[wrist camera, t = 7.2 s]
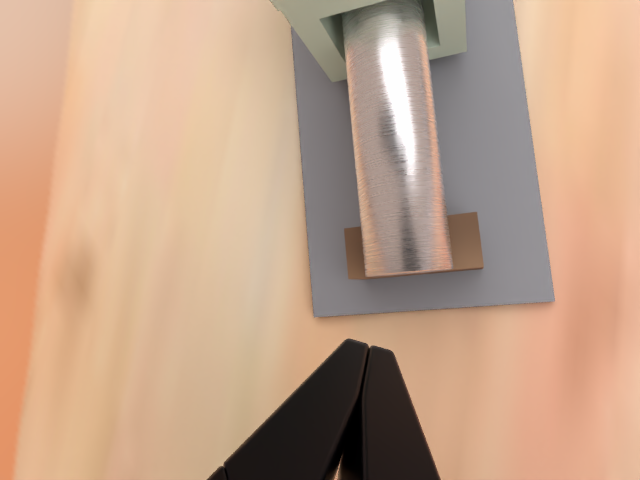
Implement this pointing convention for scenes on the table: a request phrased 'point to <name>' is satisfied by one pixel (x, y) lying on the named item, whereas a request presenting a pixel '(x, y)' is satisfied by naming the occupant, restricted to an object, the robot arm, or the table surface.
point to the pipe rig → (420, 167)
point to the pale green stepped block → (328, 3)
